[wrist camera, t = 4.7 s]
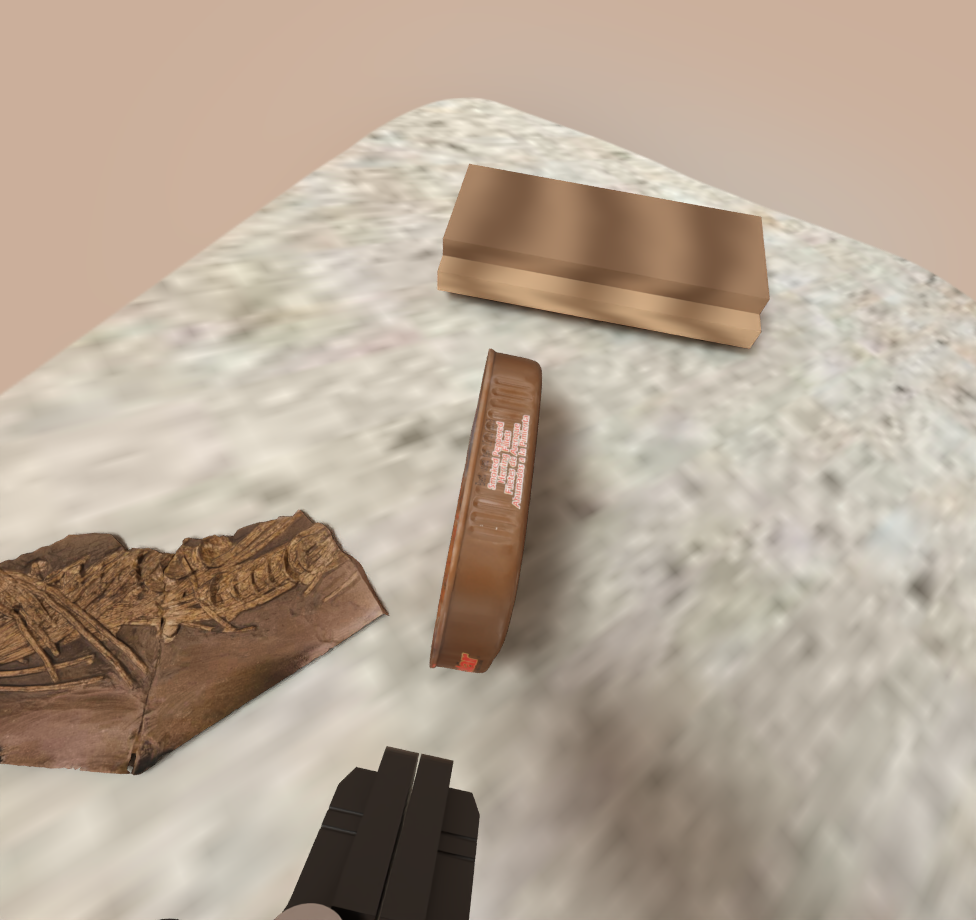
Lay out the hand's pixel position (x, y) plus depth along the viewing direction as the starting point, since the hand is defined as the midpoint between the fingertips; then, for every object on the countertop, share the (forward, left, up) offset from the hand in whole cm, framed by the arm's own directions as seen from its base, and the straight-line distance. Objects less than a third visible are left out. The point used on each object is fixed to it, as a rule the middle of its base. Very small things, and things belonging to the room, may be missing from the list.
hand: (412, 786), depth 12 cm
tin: (0, -12, -13) cm, 18 cm away
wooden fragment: (+16, -3, -13) cm, 21 cm away
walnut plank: (-4, -33, -13) cm, 35 cm away
